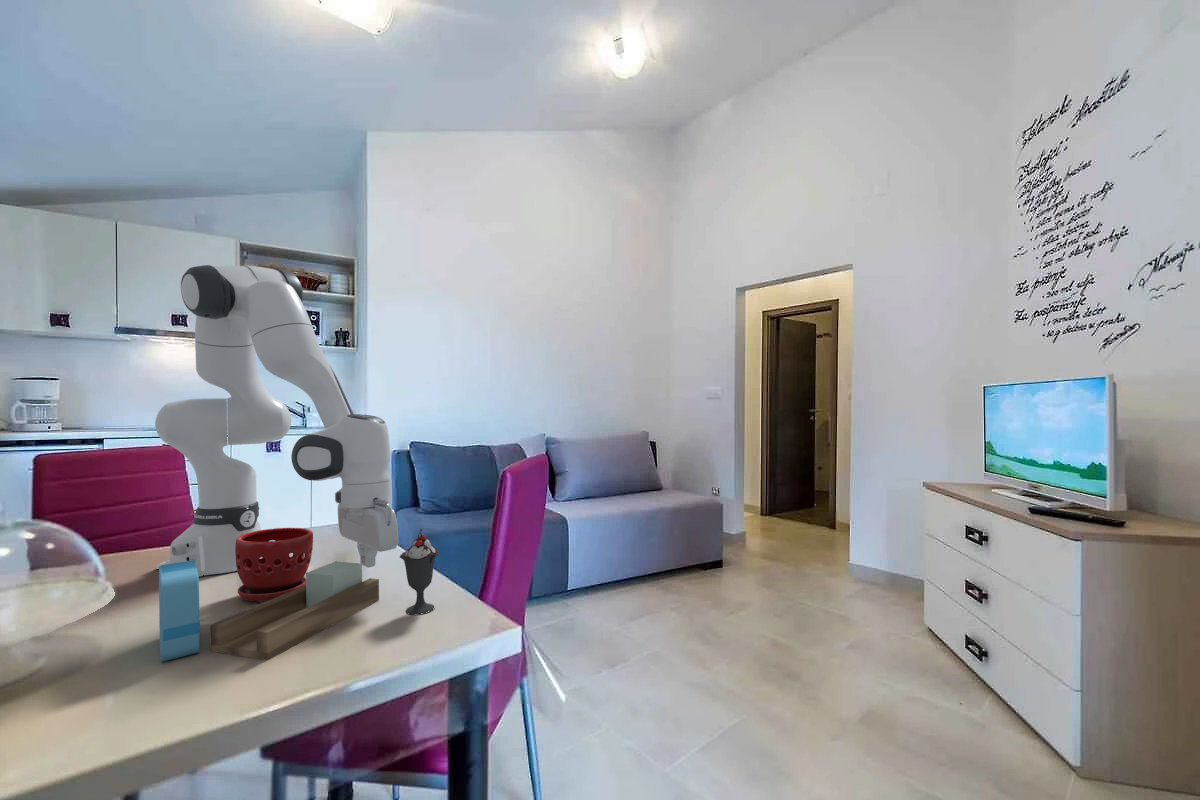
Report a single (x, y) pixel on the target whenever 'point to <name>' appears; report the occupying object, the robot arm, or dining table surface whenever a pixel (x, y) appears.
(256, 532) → the plant pot
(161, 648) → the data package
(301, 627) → the chute
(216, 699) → the dining table surface
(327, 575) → the block
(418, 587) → the sundae
